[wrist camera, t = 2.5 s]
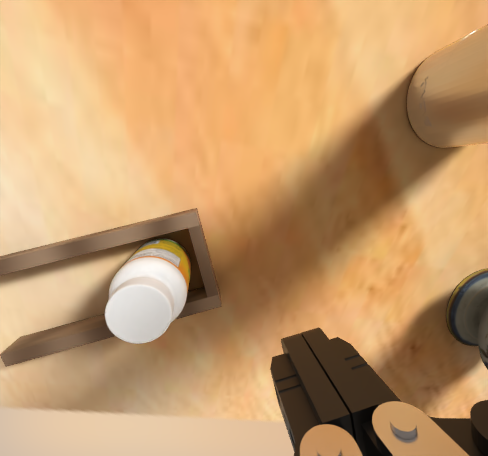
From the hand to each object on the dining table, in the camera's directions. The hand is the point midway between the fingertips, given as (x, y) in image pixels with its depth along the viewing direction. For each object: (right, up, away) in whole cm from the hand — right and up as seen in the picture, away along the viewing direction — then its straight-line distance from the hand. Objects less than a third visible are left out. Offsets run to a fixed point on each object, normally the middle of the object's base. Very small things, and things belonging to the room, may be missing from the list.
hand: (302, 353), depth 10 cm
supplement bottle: (-10, +1, +16) cm, 19 cm away
